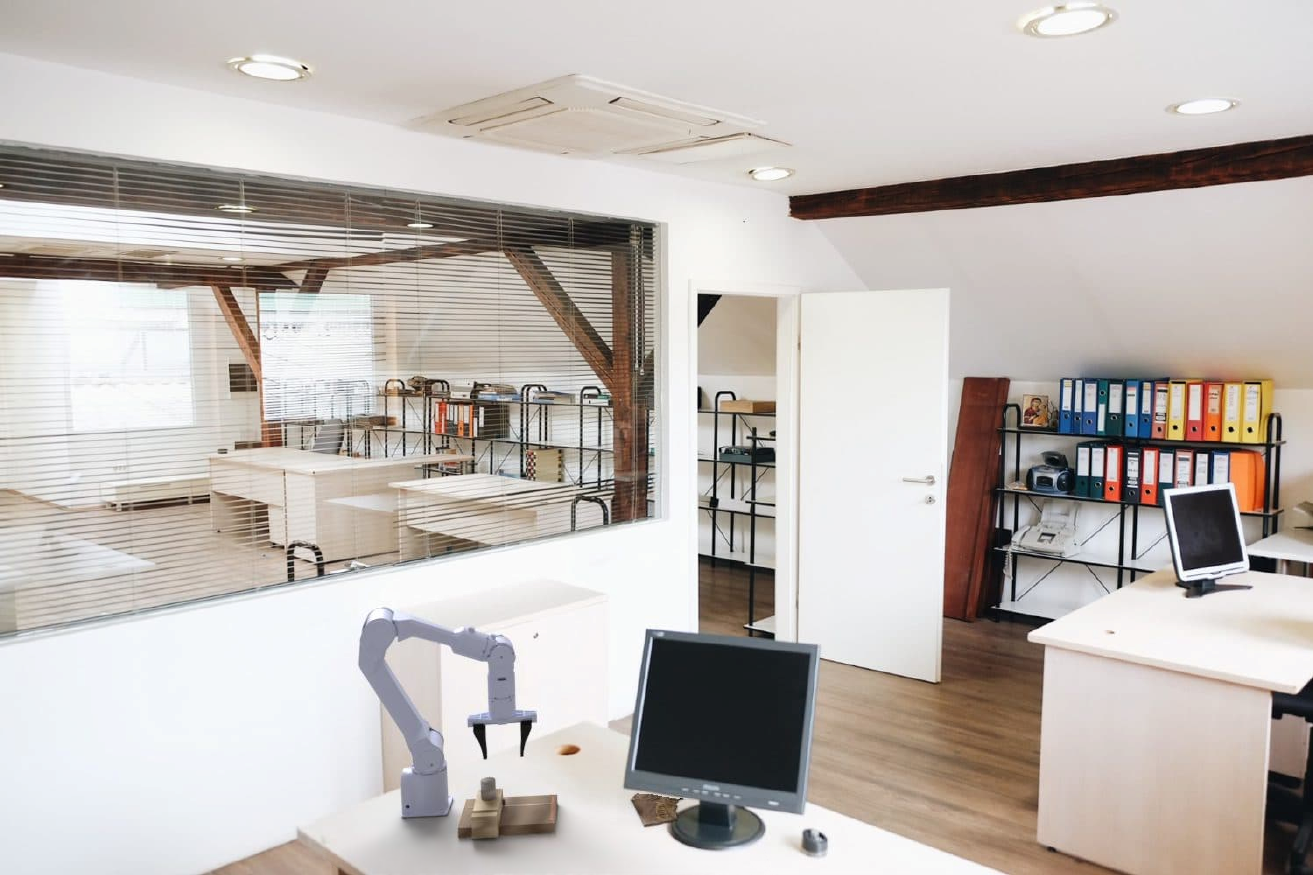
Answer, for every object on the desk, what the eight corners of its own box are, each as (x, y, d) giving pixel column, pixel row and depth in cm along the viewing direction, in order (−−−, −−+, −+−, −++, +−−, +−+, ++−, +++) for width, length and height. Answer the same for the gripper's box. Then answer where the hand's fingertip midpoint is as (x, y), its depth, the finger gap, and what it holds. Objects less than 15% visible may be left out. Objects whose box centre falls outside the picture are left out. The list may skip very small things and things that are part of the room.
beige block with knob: (471, 838, 186) (470, 799, 185) (479, 810, 197) (477, 773, 196) (500, 837, 186) (499, 797, 185) (506, 808, 197) (505, 771, 197)
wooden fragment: (673, 830, 189) (673, 825, 189) (619, 826, 191) (619, 821, 191) (693, 773, 214) (693, 768, 214) (646, 770, 216) (645, 765, 216)
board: (458, 837, 188) (457, 827, 187) (466, 808, 200) (466, 798, 199) (554, 832, 189) (554, 822, 188) (557, 803, 201) (557, 794, 200)
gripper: (465, 703, 196) (468, 766, 198) (536, 698, 198) (538, 761, 200) (467, 691, 203) (469, 752, 205) (535, 687, 205) (537, 747, 207)
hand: (503, 756), depth 203 cm, fingers open, 7 cm apart
